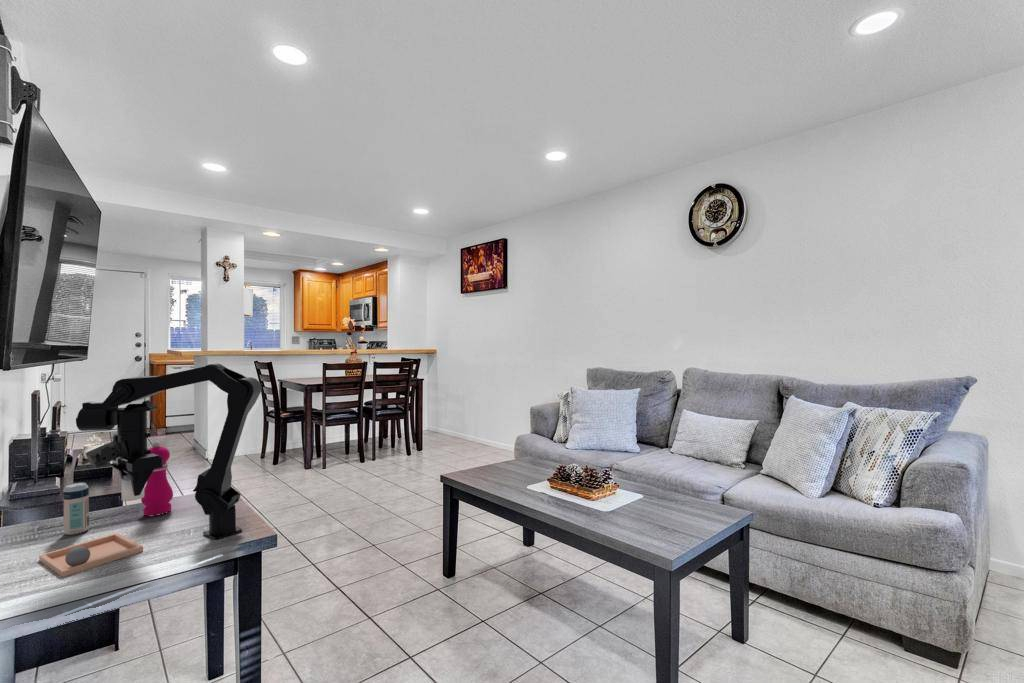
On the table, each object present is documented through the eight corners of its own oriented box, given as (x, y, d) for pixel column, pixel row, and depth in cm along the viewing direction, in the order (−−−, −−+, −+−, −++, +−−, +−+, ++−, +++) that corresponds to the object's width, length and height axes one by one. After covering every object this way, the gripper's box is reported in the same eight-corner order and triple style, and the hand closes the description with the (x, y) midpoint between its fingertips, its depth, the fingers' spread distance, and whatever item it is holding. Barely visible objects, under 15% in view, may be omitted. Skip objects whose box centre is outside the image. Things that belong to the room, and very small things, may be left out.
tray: (143, 553, 111) (143, 546, 111) (62, 579, 99) (62, 571, 99) (117, 539, 119) (117, 532, 119) (39, 562, 107) (39, 555, 107)
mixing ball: (93, 564, 105) (93, 545, 105) (69, 572, 102) (69, 552, 101) (86, 559, 107) (86, 541, 107) (62, 567, 104) (62, 548, 104)
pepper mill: (156, 518, 132) (155, 444, 132) (134, 516, 134) (133, 443, 133) (179, 508, 139) (178, 438, 139) (158, 507, 141) (157, 437, 140)
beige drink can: (81, 527, 126) (80, 481, 126) (93, 529, 125) (93, 483, 124) (59, 534, 122) (58, 486, 121) (71, 537, 120) (70, 488, 120)
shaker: (147, 497, 119) (147, 474, 119) (125, 502, 115) (125, 478, 115) (140, 493, 122) (139, 471, 121) (118, 498, 118) (118, 475, 118)
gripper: (76, 430, 117) (76, 495, 117) (105, 440, 106) (106, 511, 107) (132, 423, 126) (132, 483, 126) (164, 431, 116) (164, 497, 116)
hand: (133, 493), depth 118 cm, fingers closed on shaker, 4 cm apart
